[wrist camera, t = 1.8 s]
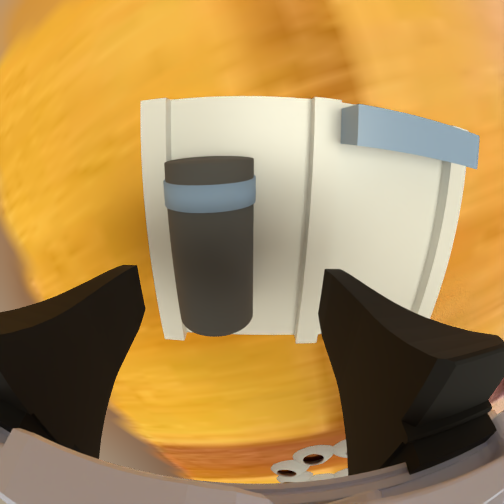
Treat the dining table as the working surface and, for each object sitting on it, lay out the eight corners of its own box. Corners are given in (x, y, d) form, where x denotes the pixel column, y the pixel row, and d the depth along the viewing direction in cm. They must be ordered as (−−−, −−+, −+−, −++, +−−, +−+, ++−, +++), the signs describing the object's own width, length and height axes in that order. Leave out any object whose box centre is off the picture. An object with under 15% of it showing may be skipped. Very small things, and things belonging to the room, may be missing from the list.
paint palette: (244, 462, 32) (243, 473, 30) (375, 416, 27) (379, 428, 26) (304, 488, 38) (305, 496, 36) (402, 452, 34) (405, 461, 32)
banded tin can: (269, 307, 17) (221, 349, 14) (213, 286, 20) (164, 316, 16) (273, 158, 14) (211, 166, 10) (206, 155, 16) (143, 164, 13)
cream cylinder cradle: (415, 321, 21) (437, 354, 17) (170, 324, 21) (155, 364, 17) (453, 129, 15) (494, 133, 11) (151, 103, 15) (120, 95, 11)
